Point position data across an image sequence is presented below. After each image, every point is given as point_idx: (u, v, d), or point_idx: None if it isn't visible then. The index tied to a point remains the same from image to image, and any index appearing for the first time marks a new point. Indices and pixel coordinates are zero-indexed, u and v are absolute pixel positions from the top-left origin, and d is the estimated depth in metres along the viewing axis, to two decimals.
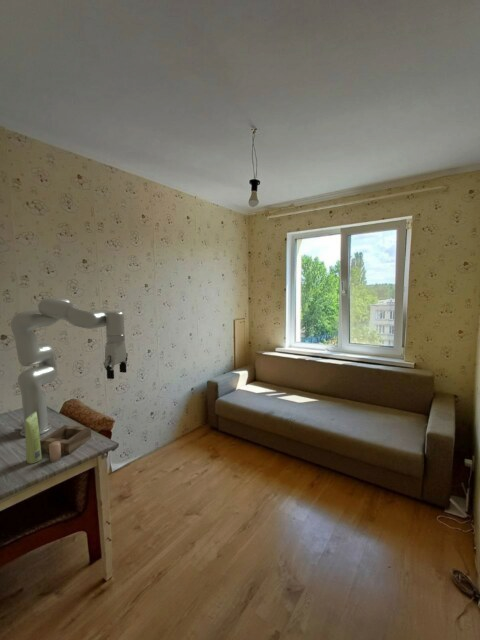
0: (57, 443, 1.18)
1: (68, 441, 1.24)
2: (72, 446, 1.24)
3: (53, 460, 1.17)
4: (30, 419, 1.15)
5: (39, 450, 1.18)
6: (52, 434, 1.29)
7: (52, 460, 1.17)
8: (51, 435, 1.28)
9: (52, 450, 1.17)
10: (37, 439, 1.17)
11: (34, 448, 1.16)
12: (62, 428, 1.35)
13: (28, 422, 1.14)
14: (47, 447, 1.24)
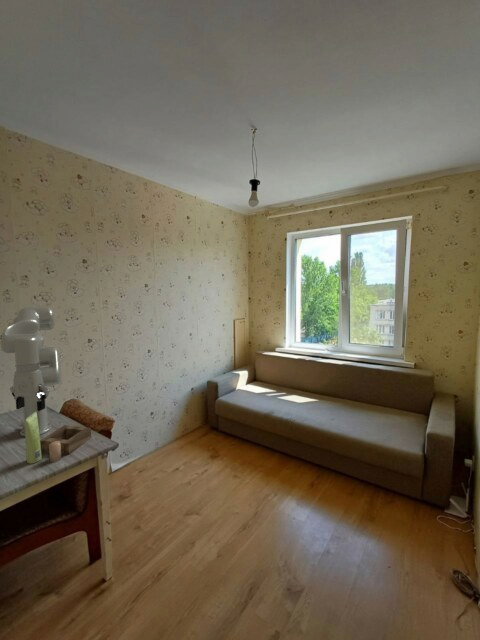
0: (57, 443, 1.18)
1: (68, 441, 1.24)
2: (72, 446, 1.24)
3: (53, 460, 1.17)
4: (30, 419, 1.15)
5: (39, 450, 1.18)
6: (52, 434, 1.29)
7: (52, 460, 1.17)
8: (51, 435, 1.28)
9: (52, 450, 1.17)
10: (37, 439, 1.17)
11: (34, 448, 1.16)
12: (62, 428, 1.35)
13: (28, 422, 1.14)
14: (47, 447, 1.24)
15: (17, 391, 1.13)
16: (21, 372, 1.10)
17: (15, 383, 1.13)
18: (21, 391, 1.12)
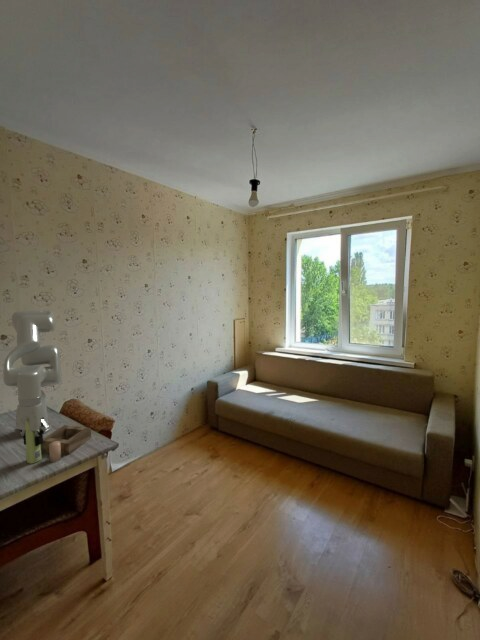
0: (57, 443, 1.18)
1: (68, 441, 1.24)
2: (72, 446, 1.24)
3: (53, 460, 1.17)
4: None
5: (39, 450, 1.18)
6: (52, 434, 1.29)
7: (52, 460, 1.17)
8: (51, 435, 1.28)
9: (52, 450, 1.17)
10: None
11: (34, 448, 1.16)
12: (62, 428, 1.35)
13: (28, 422, 1.14)
14: (47, 447, 1.24)
15: (20, 424, 1.14)
16: (24, 407, 1.12)
17: (18, 417, 1.14)
18: (24, 425, 1.14)
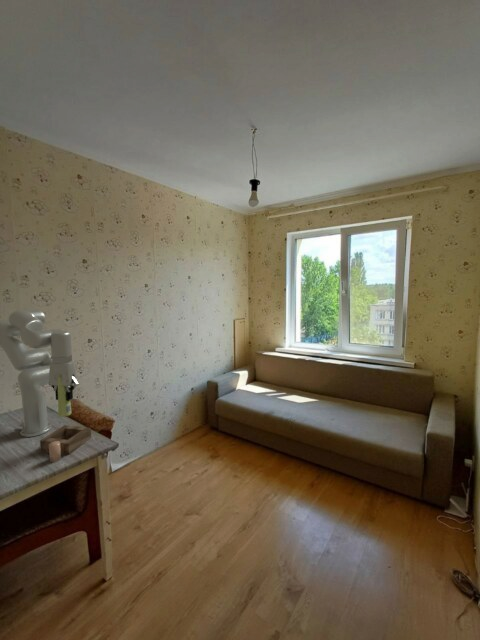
0: (57, 443, 1.18)
1: (68, 441, 1.24)
2: (72, 446, 1.24)
3: (53, 460, 1.17)
4: None
5: (69, 405, 1.28)
6: (52, 434, 1.29)
7: (52, 460, 1.17)
8: (51, 435, 1.28)
9: (52, 450, 1.17)
10: None
11: (65, 403, 1.26)
12: (62, 428, 1.35)
13: (60, 378, 1.24)
14: (47, 447, 1.24)
15: (53, 380, 1.25)
16: (57, 363, 1.23)
17: (51, 373, 1.25)
18: (57, 381, 1.24)
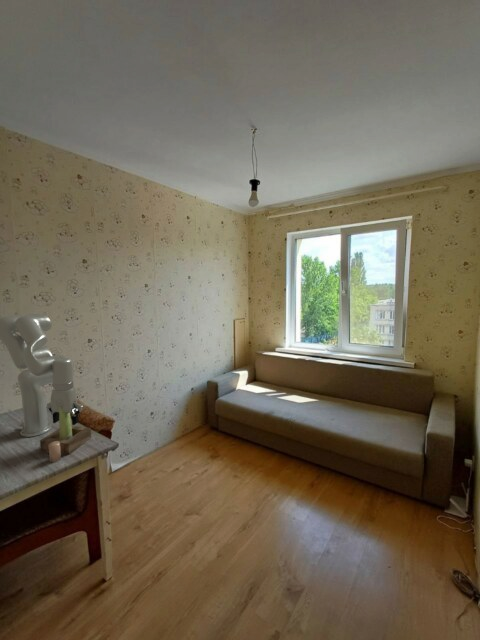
0: (57, 443, 1.18)
1: (68, 441, 1.24)
2: (72, 446, 1.24)
3: (54, 460, 1.17)
4: None
5: (71, 435, 1.30)
6: (52, 434, 1.29)
7: (53, 460, 1.17)
8: (51, 435, 1.28)
9: (52, 450, 1.16)
10: (69, 425, 1.29)
11: (66, 433, 1.28)
12: None
13: None
14: (47, 447, 1.24)
15: (54, 407, 1.26)
16: (58, 391, 1.24)
17: (52, 400, 1.26)
18: (58, 407, 1.26)
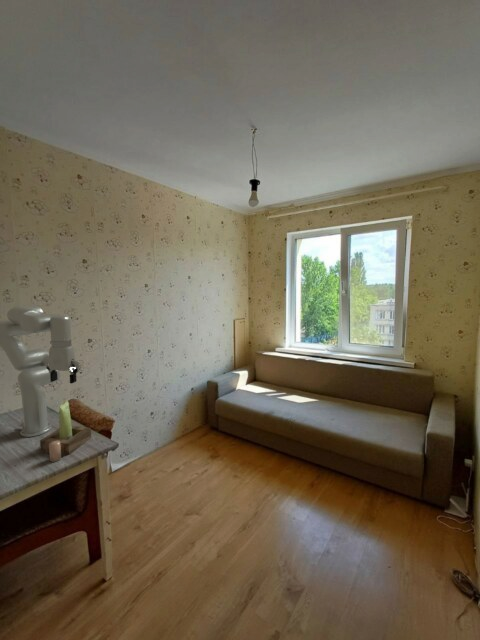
0: (57, 442, 1.19)
1: (68, 441, 1.24)
2: (72, 446, 1.24)
3: (54, 459, 1.17)
4: (63, 407, 1.28)
5: (71, 435, 1.30)
6: (52, 434, 1.29)
7: (53, 459, 1.17)
8: (51, 435, 1.28)
9: (53, 449, 1.17)
10: (69, 425, 1.29)
11: (66, 433, 1.28)
12: None
13: (62, 409, 1.26)
14: (47, 447, 1.24)
15: (52, 365, 1.25)
16: (56, 347, 1.22)
17: (50, 358, 1.24)
18: (56, 365, 1.24)
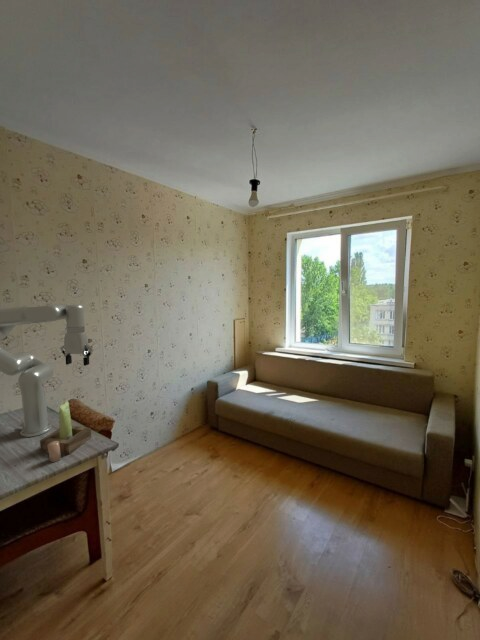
0: (56, 442, 1.19)
1: (68, 441, 1.24)
2: (72, 446, 1.24)
3: (55, 459, 1.17)
4: (63, 407, 1.28)
5: (71, 435, 1.30)
6: (52, 434, 1.29)
7: (54, 460, 1.17)
8: (51, 435, 1.28)
9: (53, 450, 1.17)
10: (69, 425, 1.29)
11: (66, 433, 1.28)
12: None
13: (62, 409, 1.26)
14: (47, 447, 1.24)
15: (67, 349, 1.38)
16: (71, 333, 1.36)
17: (66, 342, 1.38)
18: (71, 349, 1.38)
